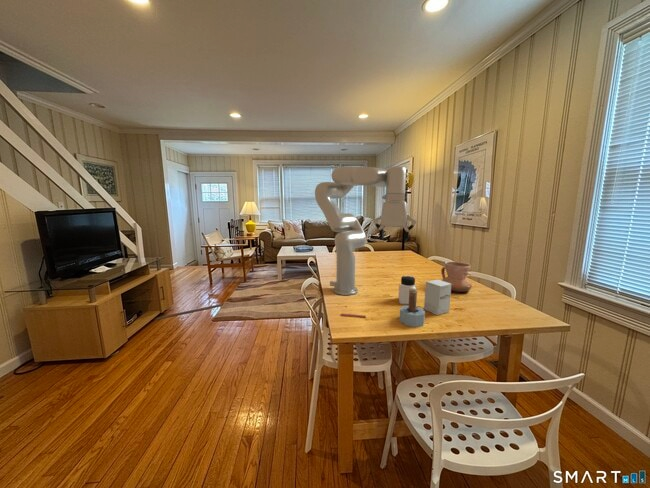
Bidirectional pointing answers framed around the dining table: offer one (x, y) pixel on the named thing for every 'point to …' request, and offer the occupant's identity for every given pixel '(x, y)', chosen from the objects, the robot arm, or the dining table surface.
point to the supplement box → (437, 297)
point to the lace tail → (353, 315)
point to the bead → (412, 317)
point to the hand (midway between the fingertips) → (393, 240)
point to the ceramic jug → (457, 275)
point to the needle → (412, 300)
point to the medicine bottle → (405, 288)
